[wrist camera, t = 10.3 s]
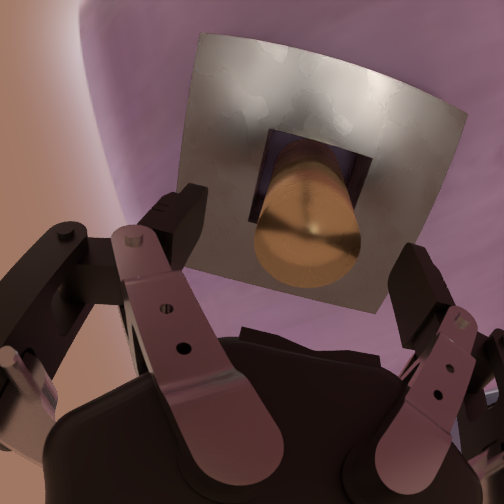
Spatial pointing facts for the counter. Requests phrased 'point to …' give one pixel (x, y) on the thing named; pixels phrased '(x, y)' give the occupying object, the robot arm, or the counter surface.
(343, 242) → the pipe stub
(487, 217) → the counter surface
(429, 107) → the block
